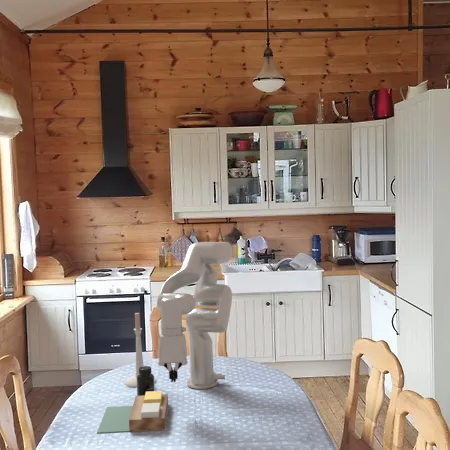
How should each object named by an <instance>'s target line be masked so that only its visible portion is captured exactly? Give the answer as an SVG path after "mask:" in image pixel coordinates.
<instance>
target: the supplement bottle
mask: <svg viewBox="0 0 450 450" xmlns="http://www.w3.org/2000/svg"><path fill="white" fill-rule="evenodd" d="M154 378H155V375H154V374H153V373H152V367H151V366H150V365H144V366H143V367H140V368H139V375H138V376H137V388H136V396H143V395H145V393H146V392H148V391H156V390H155V387H156V386H155V383H154Z"/></svg>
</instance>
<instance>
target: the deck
mask: <svg viewBox="0 0 450 450" xmlns="http://www.w3.org/2000/svg"><path fill="white" fill-rule="evenodd" d="M144 398H145V395H143V396H137V395H135V398H134V401H133V405H132V406H133V408H132V411H131V415H130V418H129V430H130V432H143V430H148V431H160V430H161V431H162V430H163V431H164V430H166V426H167V425H166V424H167V418H168V417H167V416H168V409H169V394H168V393H165V394H163V393H162V401H161V404H160V413H159V417H155V418H141V410H142V406H143V403H144Z"/></svg>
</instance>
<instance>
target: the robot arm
mask: <svg viewBox="0 0 450 450" xmlns="http://www.w3.org/2000/svg"><path fill="white" fill-rule="evenodd" d="M232 257H233V247H232V245H231V243H229V242H227V241H200V242H194V243H192V244H190V245H189V247H188V248H187V251H186V253H185V256H184V259H183V261H182V264H181V267H180V269H179V270H178V271H176V273H174V274H172V275H171V276H170V277H168V279H166V280H165V281H164V282H163V284H162V286H161V287H160V288H161V289H160V291H159V293H158V297H157V300H156V301H157V302H156V306H157V307H156V308H157V309H158V310H159V312H160V320H161V321H160V323H161V324H160V326H161V327H160V328H161V329H160V330H161V334H160V335H159V339H158V363H157V364H158V366H159V367H164V368H165V369H166V370H167V371H168V380H170V382H171V383H173V382H174V383H176V380H178V379H179V378H178V371H179V369H180V368H181V367H182V366H187V365H188V359H187V357H188V356H187V355H188V353H187V340H186V335H185V332H187V334H188V346H189V347H188V349H189V351H188V352H189V366H190V367H189V371H190V378H189V379H188V380H187V383H186V384H187V385H186V386H188V387H189V388H190V389H194V390H205V389H206V390H207V389H211V388H214V387H216V386H217V385H218V381H219V380H225V379H226V377H225V374H223V373H215V370H214V355H213V354H214V353H213V352H214V351H213V348H214V347H213V341H212V337H211V336H210V334H209V333H214V334H215V333H220V334H221V333H224V332H225V331H226V330H227V329H228V326H229V322H230V316H231V315H230V314H231V308H232V302H233V301H232V300H233V292H232V289H231V287H230V286H229V285H227V284H223V283H221V284H220V283H218V279H219V278H218V277H219V274H218V272H217V270H216V268H215V267H214V265H218V264H225V263H228V262H230V261H231V259H232ZM194 283H195V288H194V295H192V294H190V293H184V292H183V293H182V292H181V293H180V292H176V291H177V290H179V289H181V288H184V287H187V286H190V285H192V284H194ZM196 305H197V306H198V307H196ZM182 315H185V325H186V327H184V326H183V317H182ZM172 364H174V367H172Z"/></svg>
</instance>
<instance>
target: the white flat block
mask: <svg viewBox="0 0 450 450" xmlns="http://www.w3.org/2000/svg"><path fill="white" fill-rule="evenodd" d="M159 413H160V403H143V406H142V410H141V418H155V417H159Z"/></svg>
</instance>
